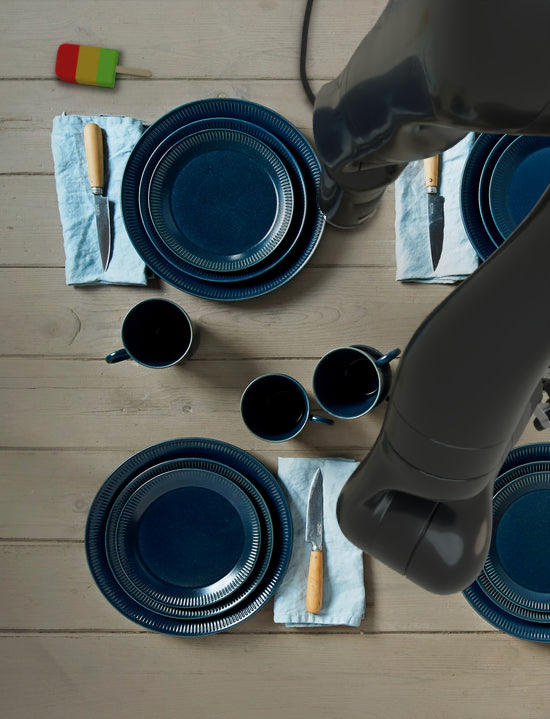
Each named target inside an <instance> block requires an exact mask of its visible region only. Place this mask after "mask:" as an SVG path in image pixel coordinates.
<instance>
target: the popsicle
mask: <svg viewBox="0 0 550 719" xmlns="http://www.w3.org/2000/svg"><path fill="white" fill-rule="evenodd" d="M119 56H120V53H119V50H118V49H114V48H107V47H98V46H91V45H90V46H89V45H83V44H75V43H74V44H73V43H66V42H65V43H61V44H60V45H59V46H58V48H57V52H56V58H55V59H56V60H55V67H54V73H55V75H56V76H57V78H58V79H59V80H60V81H62V82H66V83H73V84H80V85H88V86H95V87H96V86H97V87H104V88H112V89H113V88H115V84H116V78H117V74H124V75H130V76H138V77H139V76H140V77H146V78H150V77H152V74H153V72H152V70H151V69H146V68H137V67H129V66H122V65H118V63H119Z"/></svg>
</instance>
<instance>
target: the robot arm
mask: <svg viewBox="0 0 550 719" xmlns="http://www.w3.org/2000/svg"><path fill="white" fill-rule="evenodd" d="M306 2H307V3H306V7H305V12H304V16H303V17H304V18H303V24H302V31H301V44H300V57H299V75H300V80H301V84H302V87H303V89H304V92H305V94H306V97H307V98H308V100H309V101H310V103H311V104H312V106H313V108H312V134H313V140H314V145H315V148H316V151H317V153H318V156H319V157H320V159H321V165H320V166H321V167H320V173H319V174H320V175H319V183H318V188H317V192H318V204H319V207H320V210H321V211H322V213H323V214H324V215H325V216H326V221H325V222H326V223H327V224H329V225H330V226H332V227H333V228H336V229H339V230H345V231H346V230H354V229H357V228H360V227H362V226H364V225H365V224H366V223H367V222H369V221H370V219H372V217H373V216H374V214H376V213H377V212H378V210H379V209H378V208H377V207H378V205H379V203H380V201H381V199H382V197H383V196H384V194H385V191H386V190H387V188H388V186H389V185H392V184H393V183H395V182H396V181H397V180H398V179H399V178H400V176H401V175H402V174H403V172H404V171H405V170H406V168H407V167H408V165H409V164H410V162H417V161H422V160H427V159H430V158H433V157H437V156H439V155H441V154H443V153H445V152H447V151H449V150H451V149H453V148H454V147H455V146H456V145H457V144H459V143H460V142H461V141H463V140H464V139H466V137H467V136H468V135H469V134H470V133H479V134H490V135H508V136H524V137H544V138H550V0H388V2H387V4H386V5H385V7H384V9H383V10H382V12H381V14H380V15H379V17H378V19H377V20H376V22H375V23H374V25H373V26H372V27H371V29H370V30H369V31H368V32H367V34H365V36H364V37H363V38H362V39H361V41H360V42H359V44H358V46H357V47H356V49H355V50H354V52H353V53H352V55H351V56H350V58H349V60H348V62H347V64H346V66H344V68H343V69H342V70H341V72H340V73H339V74H338V76H337V77H335V78H334V79H332V80H330V81H328V82H326V83H325V84H323V85H322V86H321V87H320V88H319V89H318V92H317V94H316V96H315V94H314V93H313V91H312V89H311V86H310V84H309V81H308V80H309V79H308V77H307V69H306V68H307V66H306V62H307V50H308V48H307V47H308V35H309V27H310V20H311V14H312V10H313V9H312V8H313V5H314V4H313V3H314V0H307V1H306ZM316 206H317V208H318V205H317V204H316ZM544 394H546V395H547V396H548V398H547V399H546V401H545V402H542V401H543V399H544ZM533 415H534V416H535V417H534V419H533V421H532V424H533V427H534V428H535V430H536V431H538V432H543V431H544V430H547V429H549V428H550V182H549V183H548V184H547V187H546V188H545V190H544V191H543V192H542V194H541V196H540V197H539V199H538V200H537V202H536V203H535V204H534V205H533V207H532V208H531V209H530V211H529V213H528V214H527V215H526V216H525V217H524V218H523V220H522V221H520V223H519V224H518V225H517V227H516V228H515V229H514V230H513V231H512V232H511V233H510V235H509V236H508V237H507V238H506V239H504V241H503V242H502V243H501V244H500V245H499V246H498V247H497V248H496V249H495V250H494V251H493V252H492V253H491V254H490V255H489V256H488V257H487V258H485V260H484V261H483V262H482V263H481V264H480V265H479V266H478V267H477V268H475V269H474V270H473V271H472V272H471V273H470V274H469V275H468V276H467V277H466V278H464V279H463V280H462V281H461V282H460V283H459V284H458V285H457V286H456V287H455V288H454V289H453V290H452V291H451V292H450V293H449V294H448V295H447V296H446V297H444V298H443V299H442V301H440V302H439V303H438V304H437V305H436V306H435V307H434V308H433V309H432V310H431V312H430V313H429V314H428V315H427V316H426V317H425V318H424V319H423V321H422V322H421V323H420V325H418V327H416V330H415V331H414V333H413V334H412V335H411V337H410V339H409V340H408V342H407V344H406V345H405V348H404V349H403V351H402V354H401V356H400V358H399V360H398V363H397V366H396V369H395V373H394V377H393V380H392V385H391V389H390V392H389V397H388V401H387V404H386V408H385V412H384V418H383V421H382V425H381V428H380V430H379V433H378V435H377V437H376V439H375V441H374V443H373V445H372V447H371V448H370V450H369V451H368V453H367V454H366V455H365V457H364V458H363V460H361V461H360V463H359V464H358V465H357V466H356V468H355V469H354V470H353V471H352V473H350V476H348V478H347V479H346V481H345V483H344V485H343V486H342V488H341V490H340V492H339V494H338V497H337V499H336V504H335V516H336V522H337V524H338V528H339V530H340V532H341V533H342V535H343V536H344V538H345V539H346V540H347V541H348V542H349V543H351V545H353V546H354V547H356V548H357V549H358V550H360V551H362V552H363V553H365V554H367V555H368V556H371V557H372V558H373V559H374V560H377V561H378V562H379V563H381V564H383V565H384V566H386V567H388V568H389V569H391V570H392V571H394V572H396V573H397V574H399V575H400V576H402V577H405V579H407V580H408V581H410V582H411V583H413V584H414V585H416V586H418V587H419V588H421V589H422V590H425V591H426V592H429V593H431V594H433V595H437V596H451V595H455V594H458V593H460V592H463V591H464V590H466V589H467V588H469V587H470V586H471V585H472V584H473V583H474V582H475V581H476V580H477V579H478V577H479V576H480V574H481V573H482V571H483V569H484V567H485V564H486V562H487V560H488V556H489V552H490V548H491V542H492V534H493V533H492V531H493V506H494V504H493V501H494V500H493V499H494V497H493V496H494V489H495V484H496V480H497V477H498V475H499V473H500V471H501V469H502V468H503V465H504V464H505V461H506V459H507V458H508V455H509V453H510V452H511V451H512V450H513V448H514V447H515V446H516V444H517V443H518V442H519V441H520V439H521V437H522V435H523V433H524V432H525V430H526V428H527V426H528V424H529V422H530V420H531V418H532V417H533Z"/></svg>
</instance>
